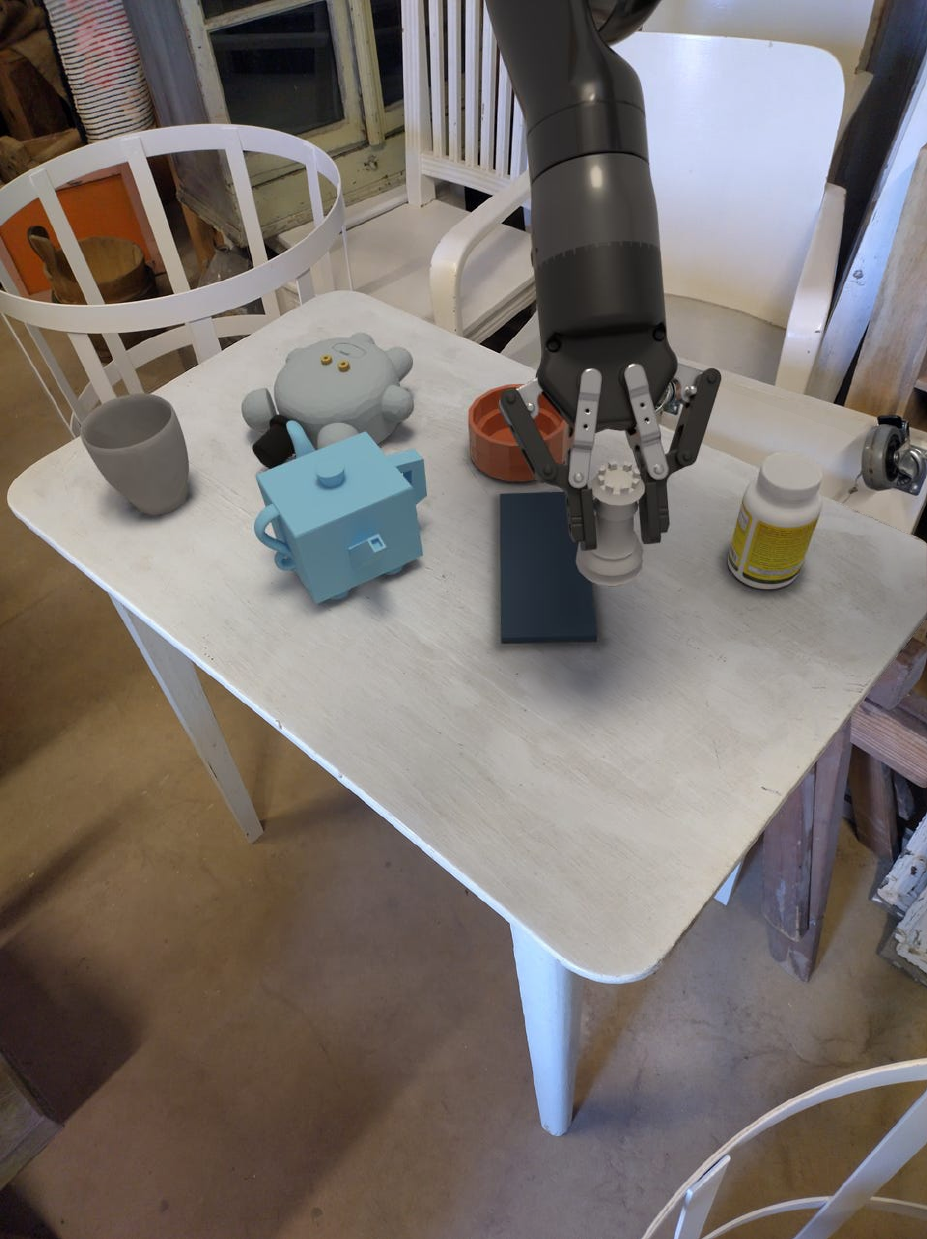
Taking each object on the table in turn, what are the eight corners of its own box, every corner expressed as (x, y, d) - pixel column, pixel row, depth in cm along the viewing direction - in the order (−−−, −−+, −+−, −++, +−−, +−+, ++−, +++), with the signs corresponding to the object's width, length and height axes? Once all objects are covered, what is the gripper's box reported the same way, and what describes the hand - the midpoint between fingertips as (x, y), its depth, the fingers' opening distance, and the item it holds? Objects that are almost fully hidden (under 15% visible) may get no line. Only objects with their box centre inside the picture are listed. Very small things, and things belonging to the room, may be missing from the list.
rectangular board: (500, 499, 80) (500, 493, 80) (581, 496, 80) (582, 490, 79) (501, 643, 69) (501, 637, 68) (596, 641, 68) (597, 635, 68)
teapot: (313, 654, 69) (281, 563, 61) (240, 531, 80) (205, 438, 71) (472, 579, 74) (464, 484, 65) (384, 471, 84) (367, 377, 76)
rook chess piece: (603, 532, 57) (613, 440, 51) (656, 563, 55) (672, 472, 48) (561, 567, 55) (565, 476, 49) (613, 601, 53) (625, 511, 47)
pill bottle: (813, 570, 72) (851, 473, 63) (764, 603, 70) (796, 507, 61) (760, 531, 75) (789, 435, 67) (711, 561, 73) (734, 465, 65)
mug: (222, 491, 84) (192, 414, 76) (151, 539, 80) (112, 462, 72) (155, 447, 89) (121, 370, 82) (86, 490, 85) (43, 413, 78)
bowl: (564, 421, 88) (566, 381, 84) (570, 483, 81) (572, 443, 77) (471, 425, 88) (469, 385, 84) (470, 486, 82) (467, 447, 78)
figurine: (340, 356, 97) (222, 461, 90) (321, 293, 91) (191, 401, 83) (455, 402, 90) (338, 521, 82) (444, 337, 83) (314, 460, 75)
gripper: (481, 249, 45) (512, 560, 47) (735, 223, 45) (756, 534, 47) (476, 290, 52) (503, 557, 54) (693, 268, 53) (713, 535, 54)
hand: (620, 545), depth 50 cm, fingers closed on rook chess piece, 3 cm apart
